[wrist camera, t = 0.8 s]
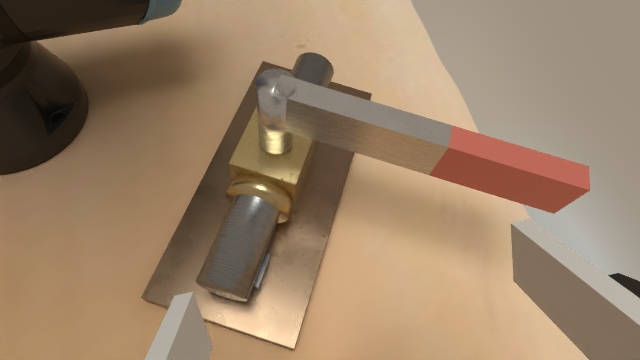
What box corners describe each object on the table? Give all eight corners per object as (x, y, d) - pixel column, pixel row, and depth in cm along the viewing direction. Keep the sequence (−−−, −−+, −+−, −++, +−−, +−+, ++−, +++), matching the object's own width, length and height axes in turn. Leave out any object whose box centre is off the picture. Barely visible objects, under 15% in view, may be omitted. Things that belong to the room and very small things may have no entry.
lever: (253, 148, 35) (249, 92, 28) (265, 121, 36) (264, 63, 30) (530, 234, 33) (590, 196, 27) (531, 203, 35) (588, 160, 29)
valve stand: (293, 350, 35) (298, 338, 28) (146, 301, 36) (113, 276, 29) (369, 101, 50) (385, 50, 42) (263, 69, 51) (261, 13, 43)
